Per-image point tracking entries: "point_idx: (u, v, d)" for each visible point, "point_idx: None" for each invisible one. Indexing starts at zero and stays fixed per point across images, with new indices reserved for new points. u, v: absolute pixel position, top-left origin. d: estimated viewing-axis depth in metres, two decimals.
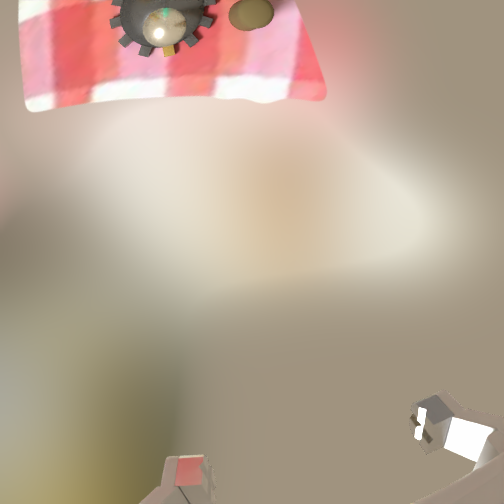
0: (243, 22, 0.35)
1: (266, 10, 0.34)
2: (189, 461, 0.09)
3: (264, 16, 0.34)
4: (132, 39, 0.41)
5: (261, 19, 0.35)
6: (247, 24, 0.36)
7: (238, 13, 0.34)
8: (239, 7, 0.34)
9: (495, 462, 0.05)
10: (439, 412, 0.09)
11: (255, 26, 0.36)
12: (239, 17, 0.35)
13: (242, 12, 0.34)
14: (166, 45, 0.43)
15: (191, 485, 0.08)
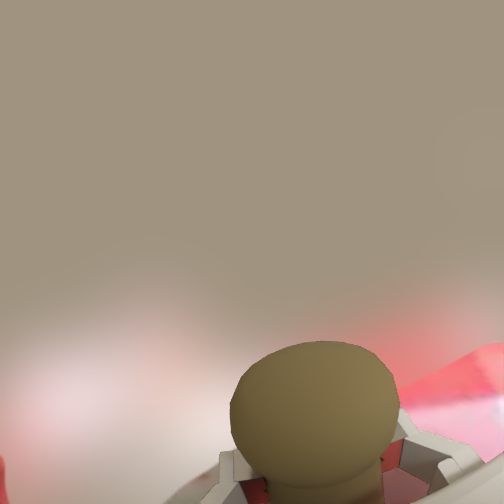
0: (373, 430, 0.06)
1: (304, 347, 0.10)
2: None
3: (334, 349, 0.09)
4: None
5: (351, 355, 0.09)
6: (384, 409, 0.07)
7: (314, 457, 0.06)
8: (275, 452, 0.07)
9: (495, 462, 0.05)
10: None
11: (390, 380, 0.08)
12: (341, 452, 0.06)
13: (309, 426, 0.07)
14: None
15: (252, 479, 0.08)
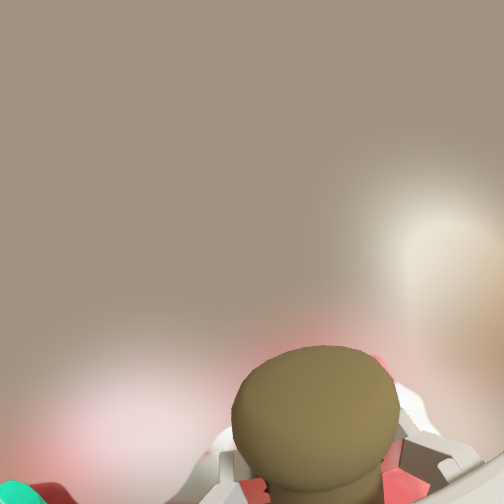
0: (374, 436, 0.07)
1: (305, 352, 0.10)
2: None
3: (335, 354, 0.09)
4: None
5: (352, 360, 0.09)
6: (385, 414, 0.07)
7: (316, 462, 0.06)
8: (277, 458, 0.07)
9: (495, 462, 0.05)
10: None
11: (391, 385, 0.08)
12: (342, 457, 0.06)
13: (310, 432, 0.07)
14: None
15: (252, 479, 0.08)
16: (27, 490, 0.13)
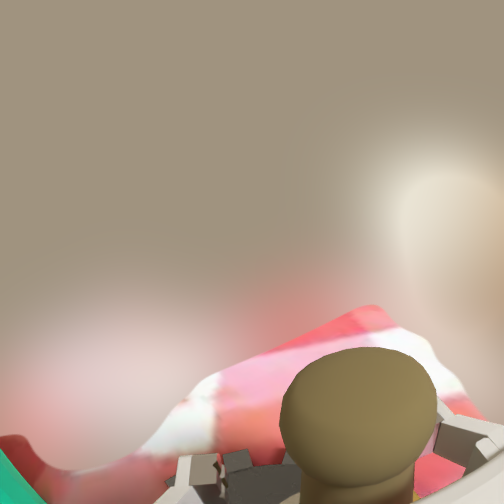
0: (421, 427, 0.07)
1: (347, 354, 0.10)
2: (203, 460, 0.09)
3: (377, 354, 0.09)
4: None
5: (393, 359, 0.09)
6: (429, 407, 0.07)
7: (373, 456, 0.06)
8: (336, 456, 0.07)
9: (495, 462, 0.05)
10: None
11: (430, 381, 0.08)
12: (396, 449, 0.06)
13: (368, 428, 0.07)
14: None
15: (206, 484, 0.08)
16: None
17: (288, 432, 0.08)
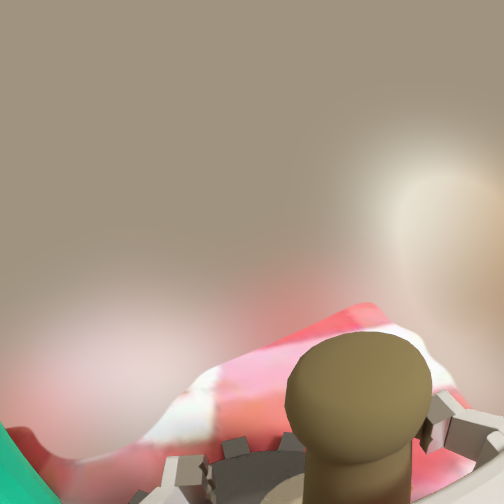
0: (417, 407, 0.08)
1: (347, 338, 0.11)
2: (189, 461, 0.09)
3: (375, 338, 0.10)
4: None
5: (390, 343, 0.10)
6: (424, 388, 0.08)
7: (373, 433, 0.07)
8: (339, 433, 0.08)
9: (495, 462, 0.05)
10: (439, 412, 0.09)
11: (424, 363, 0.09)
12: (394, 427, 0.07)
13: (368, 407, 0.08)
14: None
15: (191, 485, 0.08)
16: None
17: (294, 412, 0.09)
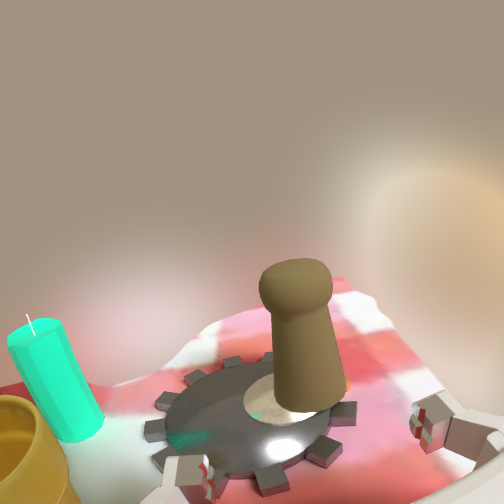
0: (317, 282, 0.20)
1: None
2: (189, 461, 0.09)
3: (303, 258, 0.23)
4: (320, 435, 0.19)
5: (309, 259, 0.22)
6: (322, 275, 0.20)
7: (294, 290, 0.20)
8: (280, 290, 0.20)
9: (495, 462, 0.05)
10: (439, 412, 0.09)
11: (326, 269, 0.21)
12: (305, 288, 0.20)
13: (292, 277, 0.20)
14: None
15: (191, 485, 0.08)
16: (51, 322, 0.25)
17: (261, 287, 0.21)
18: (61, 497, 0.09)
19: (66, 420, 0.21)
